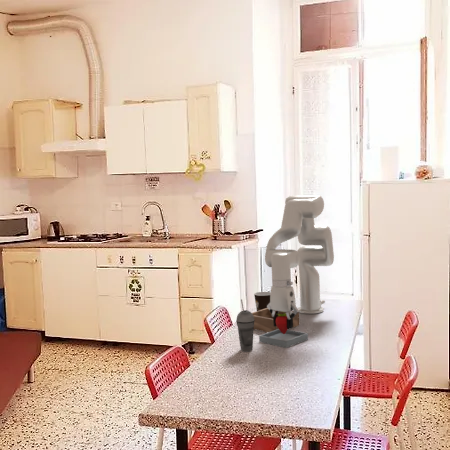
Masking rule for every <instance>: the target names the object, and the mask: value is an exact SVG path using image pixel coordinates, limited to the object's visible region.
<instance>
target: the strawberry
mask: <svg viewBox="0 0 450 450" xmlns="http://www.w3.org/2000/svg"><path fill="white" fill-rule="evenodd" d="M283 313H284V312H283ZM278 315H279V316H278V317H277V318H276V321H275V322H276V325H277V327H278V329H279V330H280V331H281V332H282V334H285V333H286V331H287V330H289V329H287V319H288V318H287V316H286V313H284V314H278Z"/></svg>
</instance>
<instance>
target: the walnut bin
mask: <svg viewBox="0 0 450 450" xmlns="http://www.w3.org/2000/svg"><path fill="white" fill-rule="evenodd" d="M292 312H294V311H292ZM251 313H252V314H253V316H254V320H255V321H254V329H253V331H254V330H256V331H260V332H261V331H262V332H266V333H268V332H271V331H274V330H277V329H278V327H277V326H274V323H273V316H272V314H271V312H270V310H269V309H268V308H266V309H263V310H259V311H257V310H256V311H253V312H251ZM284 313H286V312H284ZM284 313H283V312H281V311H279V313H278V314H284ZM289 314H290V313H289ZM286 316H287V315H286ZM300 321H301V319H300V312H298V313H297V314H296V316H295V317H294V318H293V328H295V327H299V326H301V325H300V323H301V322H300ZM293 328H292V329H293Z"/></svg>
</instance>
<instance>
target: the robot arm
mask: <svg viewBox="0 0 450 450" xmlns="http://www.w3.org/2000/svg"><path fill="white" fill-rule="evenodd" d="M324 209H325V201H324V198H323V197H322V196H321V195H318V194H312V195H311V194H310V195H309V194H308V195H302V194H301V195H289V196H287V197H286V198H285V205H284V210H283V215H282V220H281V225H280V228H279V229H277V231H275V232H274V234H272V235H271V237H270V238H269V239H268V240H267V241H268V242H267V244H266V247H265V248H266V249H265V253H264V254H265V255H264V261H265V264H266V266H267V267H269V268H271V284H272V285H271V286H270V287H271V289H270V292H271V293H270V303H269V304H268V305H267V308H268V309H269V310H270V312H271V314H272V316H273V323H274V326H277V325H276V322H275V321H276V318H277V317H278V316H279V315H278V313H279V311H281V312H286V315H287V318H288V319H287V329H288V330H292V329H293V318H294V317H295V316H296V314H297V313H298V312H299V314H305V315H306V314H307V315H308V314H309V315H311V314H312V315H313V314H319V313H323V312H324V311H325V310H324V307H322V305H325V304H326V301H325V300H324V299H321V291H320V290H321V289H320V288H321V286H320V272H318V270H317V269H316V267H329V266H332V265H333V264H334V261H335V260H334V259H335V255H334V254H335V253H334V245H333V243H334V242H333V234H332V230H331V228H330V226H328V225H325V224H321V225H320V224H315V219H316V218H317V217H319V216H320V215H321V214H322V213H323V212H324ZM296 237H297V239H298V243H299V244H300V245H302V246H301V247H299V248H298V249H297V250H295V249H284V248H283V249H279V248H277V247H278V246H279V245H281V244H283V243H285V242H287V241H289V240H292V239H294V238H296ZM296 267H298V272H299V273H298V275H299V298H300V299H299V303H300V304H299V305H300V306H299V307H297V303H296V294H295V291H294V290H295V289H294V287H293V286H292V285H293V284H294V283H293V281H292V277H291V276H292V273H291V269H294V268H296ZM292 311H294V312H292ZM289 313H290V314H289Z"/></svg>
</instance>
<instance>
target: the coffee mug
mask: <svg viewBox="0 0 450 450" xmlns="http://www.w3.org/2000/svg"><path fill="white" fill-rule="evenodd" d="M270 293H271V291H270V292H269V291H257V292H254V294H253V295H254V296H253V297H254V302H255V309H256V311H259V310H263V309H266V308H267V305H268V304H269V303H270Z"/></svg>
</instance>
